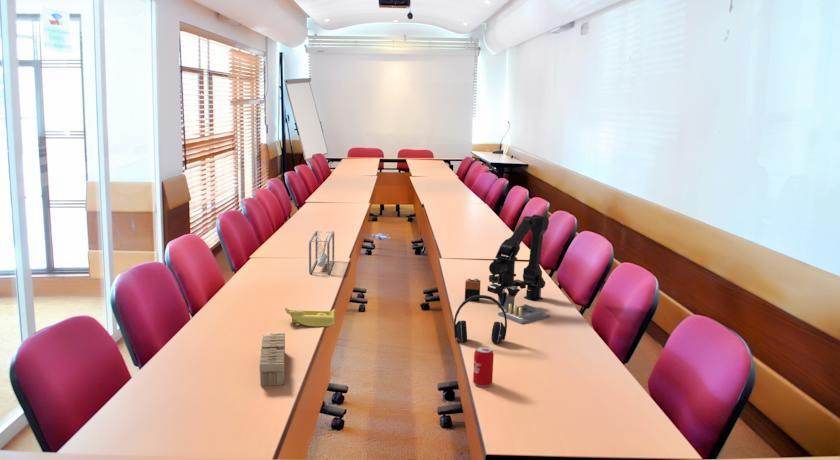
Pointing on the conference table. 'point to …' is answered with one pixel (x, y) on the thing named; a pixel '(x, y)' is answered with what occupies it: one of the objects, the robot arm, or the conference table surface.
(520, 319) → the header socket
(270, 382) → the block tower
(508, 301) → the plug
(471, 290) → the battery
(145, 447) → the conference table surface
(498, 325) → the headphones
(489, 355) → the beverage can
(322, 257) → the newton's cradle
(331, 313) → the plastic component
